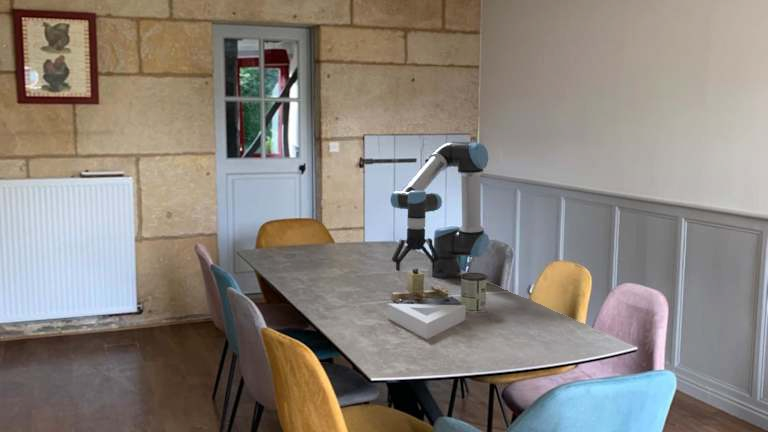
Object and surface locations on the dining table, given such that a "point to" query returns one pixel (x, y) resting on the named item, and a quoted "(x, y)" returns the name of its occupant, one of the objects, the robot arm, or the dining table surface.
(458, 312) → the triangle block
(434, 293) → the bar
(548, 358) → the dining table surface
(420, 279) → the block
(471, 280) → the coffee can
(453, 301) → the bolt plate
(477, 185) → the robot arm
